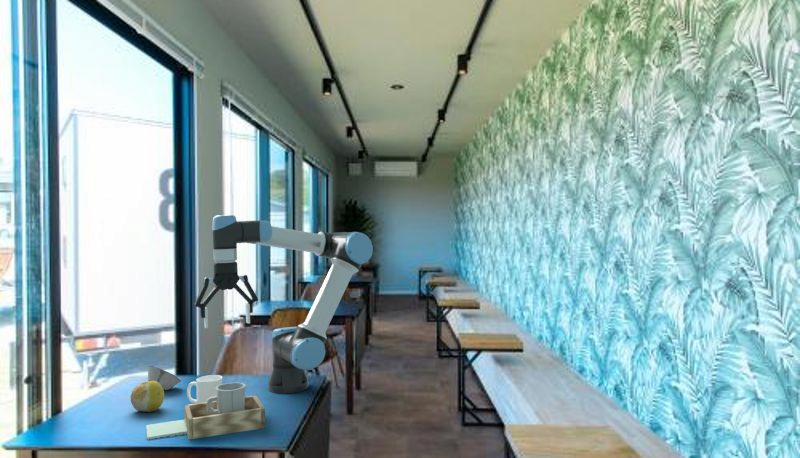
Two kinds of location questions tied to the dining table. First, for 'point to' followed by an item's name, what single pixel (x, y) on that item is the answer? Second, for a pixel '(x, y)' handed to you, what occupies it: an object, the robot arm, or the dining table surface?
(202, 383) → the cup
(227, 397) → the cup
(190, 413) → the caddy
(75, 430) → the dining table surface
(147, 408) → the fruit
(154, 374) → the bowl
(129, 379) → the dining table surface
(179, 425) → the mat
